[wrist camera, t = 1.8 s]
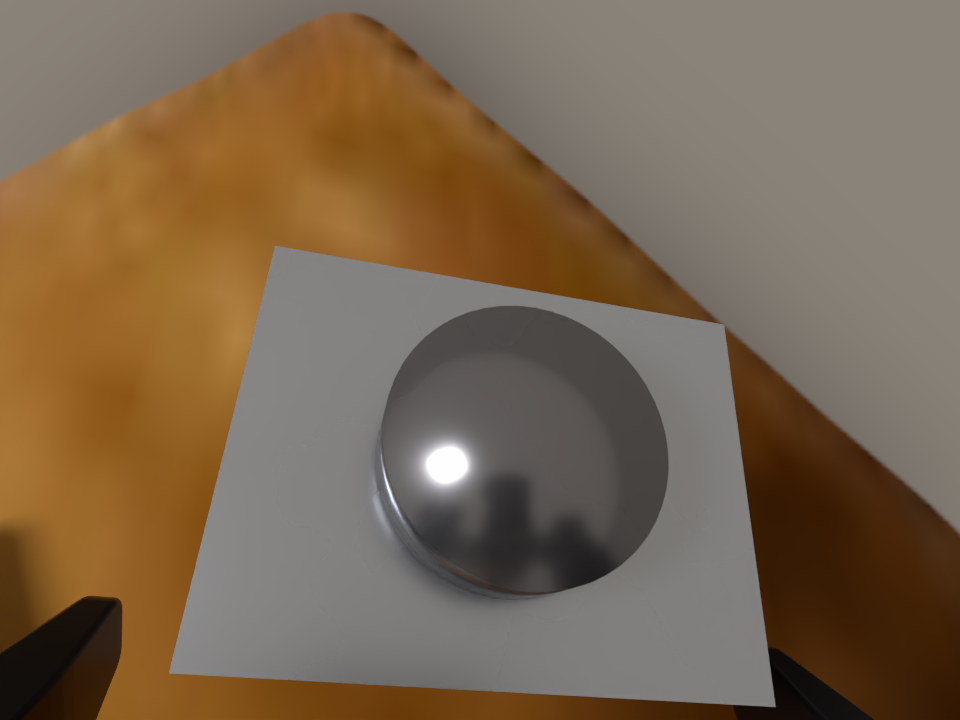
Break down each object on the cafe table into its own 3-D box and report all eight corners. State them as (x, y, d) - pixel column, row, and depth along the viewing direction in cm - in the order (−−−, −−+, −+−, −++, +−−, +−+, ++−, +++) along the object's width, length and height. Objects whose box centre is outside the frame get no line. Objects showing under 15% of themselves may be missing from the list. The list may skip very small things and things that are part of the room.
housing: (503, 676, 18) (840, 714, 6) (267, 662, 16) (141, 675, 5) (510, 493, 20) (763, 274, 8) (303, 469, 19) (273, 179, 7)
